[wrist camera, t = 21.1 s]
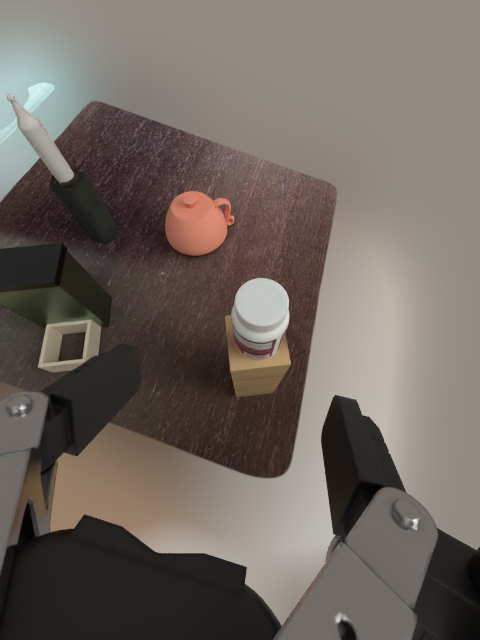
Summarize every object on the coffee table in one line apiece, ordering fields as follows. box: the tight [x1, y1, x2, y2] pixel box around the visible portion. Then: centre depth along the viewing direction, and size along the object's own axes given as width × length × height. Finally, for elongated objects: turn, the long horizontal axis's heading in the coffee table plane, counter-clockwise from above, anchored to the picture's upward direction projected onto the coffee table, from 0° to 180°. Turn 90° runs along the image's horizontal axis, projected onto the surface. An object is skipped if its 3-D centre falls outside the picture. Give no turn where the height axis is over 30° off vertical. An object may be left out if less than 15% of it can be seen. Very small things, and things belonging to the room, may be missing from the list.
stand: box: [225, 315, 291, 397], centre depth 35 cm, size 6×6×18 cm
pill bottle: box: [231, 278, 289, 361], centre depth 23 cm, size 5×5×8 cm
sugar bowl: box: [165, 191, 234, 256], centre depth 51 cm, size 12×14×10 cm
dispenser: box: [0, 243, 112, 329], centre depth 42 cm, size 6×10×15 cm, turn 96°
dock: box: [38, 320, 101, 372], centre depth 44 cm, size 7×7×4 cm
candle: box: [7, 94, 119, 243], centre depth 45 cm, size 5×5×25 cm
